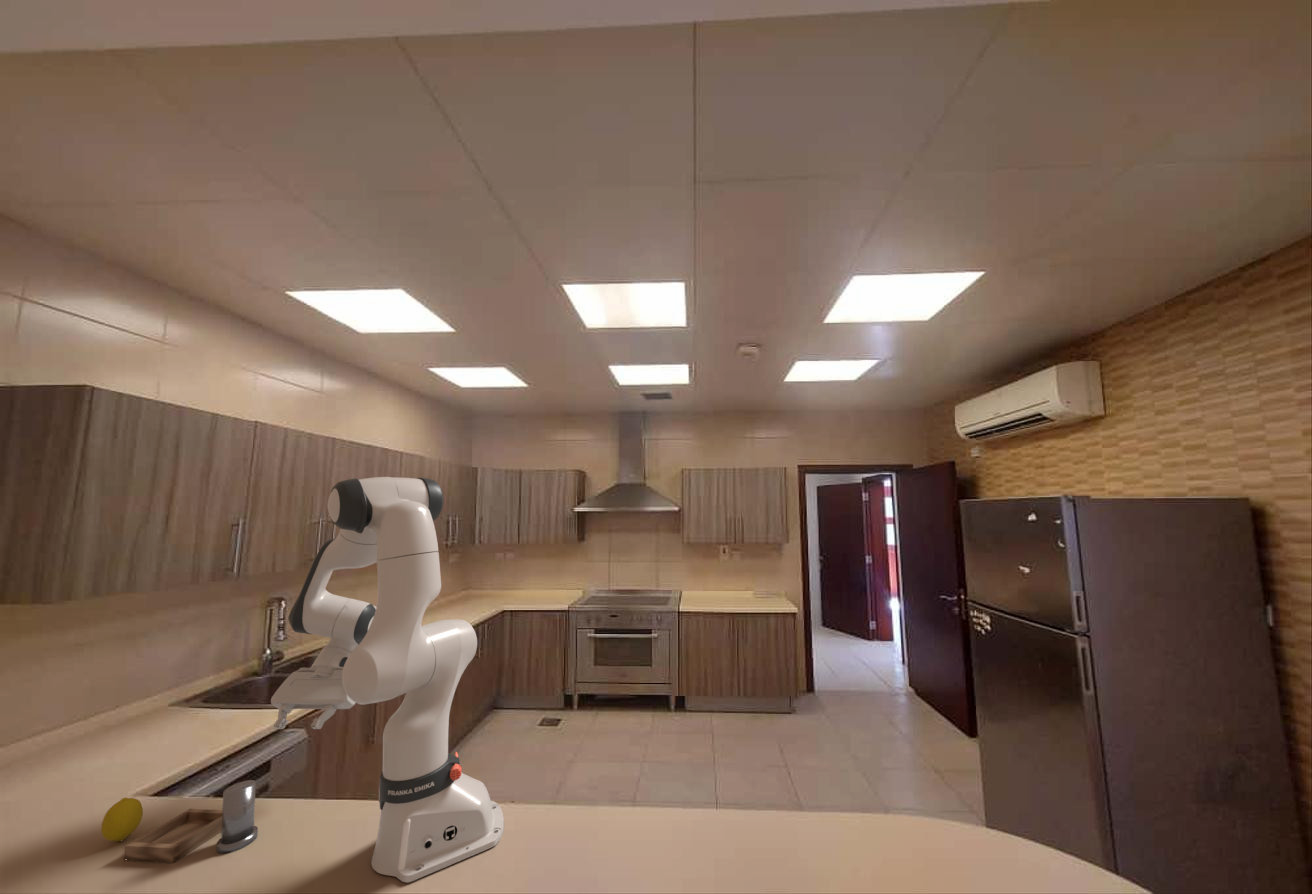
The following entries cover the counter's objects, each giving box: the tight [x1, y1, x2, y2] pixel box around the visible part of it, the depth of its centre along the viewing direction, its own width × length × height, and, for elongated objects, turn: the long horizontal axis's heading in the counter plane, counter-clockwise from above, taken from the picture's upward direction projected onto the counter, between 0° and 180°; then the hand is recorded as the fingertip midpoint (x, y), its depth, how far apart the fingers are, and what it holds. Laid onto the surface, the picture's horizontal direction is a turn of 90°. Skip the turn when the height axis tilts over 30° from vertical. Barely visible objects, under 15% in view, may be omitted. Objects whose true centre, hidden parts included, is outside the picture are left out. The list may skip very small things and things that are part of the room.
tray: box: [123, 808, 223, 864], centre depth 94 cm, size 11×11×2 cm
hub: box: [215, 779, 259, 855], centre depth 93 cm, size 6×6×10 cm
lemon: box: [100, 797, 144, 842], centre depth 95 cm, size 6×6×8 cm
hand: (296, 728), depth 106 cm, fingers open, 8 cm apart
